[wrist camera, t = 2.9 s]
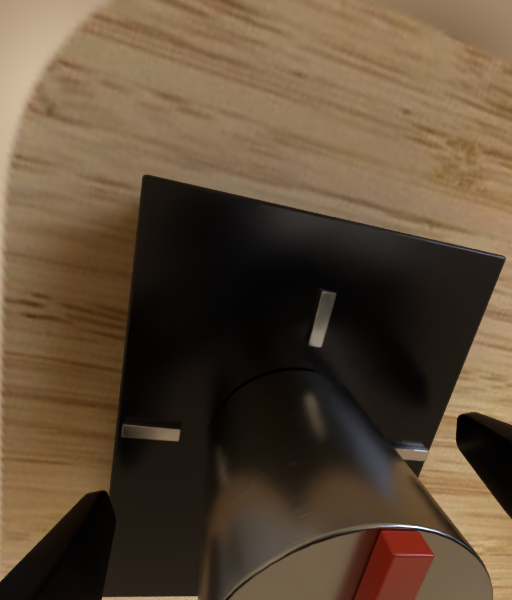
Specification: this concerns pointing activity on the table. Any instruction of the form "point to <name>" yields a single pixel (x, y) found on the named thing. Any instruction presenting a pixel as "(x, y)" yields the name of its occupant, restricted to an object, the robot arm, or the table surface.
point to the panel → (269, 347)
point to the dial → (321, 505)
